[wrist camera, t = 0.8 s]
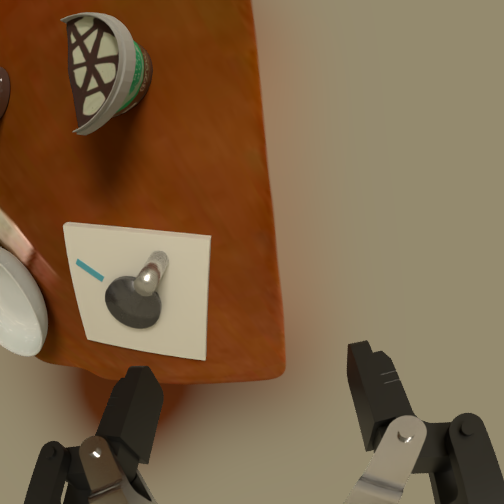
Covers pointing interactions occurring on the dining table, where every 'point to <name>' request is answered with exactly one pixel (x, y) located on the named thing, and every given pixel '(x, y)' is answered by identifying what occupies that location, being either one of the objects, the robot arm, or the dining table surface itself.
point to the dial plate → (130, 264)
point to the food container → (104, 69)
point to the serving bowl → (20, 308)
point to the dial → (138, 294)
